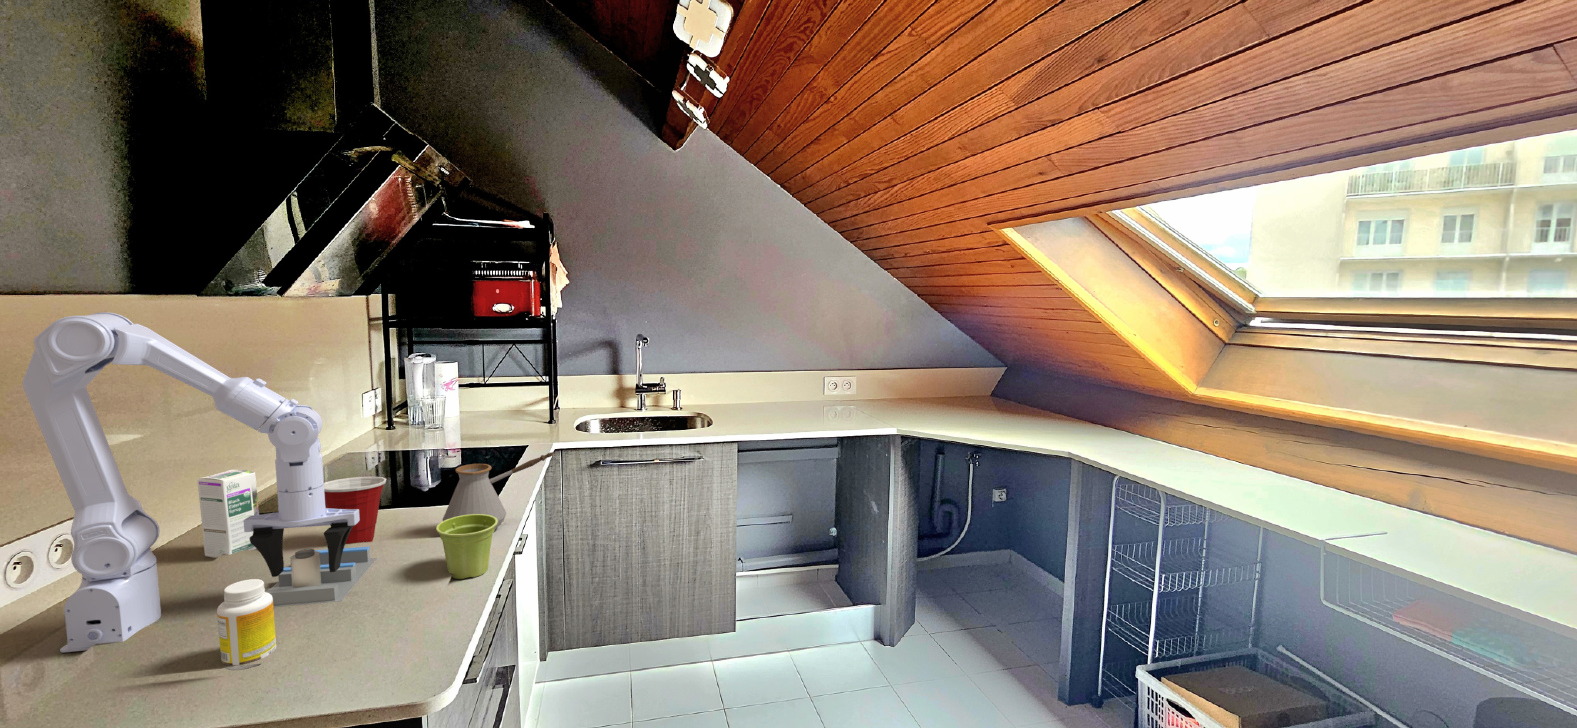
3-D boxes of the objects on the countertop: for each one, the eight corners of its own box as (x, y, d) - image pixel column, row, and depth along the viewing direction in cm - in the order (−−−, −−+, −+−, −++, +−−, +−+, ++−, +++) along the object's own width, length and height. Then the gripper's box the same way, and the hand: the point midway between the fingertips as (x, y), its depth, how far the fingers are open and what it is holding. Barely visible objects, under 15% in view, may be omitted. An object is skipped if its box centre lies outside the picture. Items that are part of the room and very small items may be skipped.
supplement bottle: (286, 647, 88) (282, 575, 86) (257, 671, 82) (252, 595, 81) (242, 648, 87) (236, 576, 86) (209, 673, 82) (203, 596, 80)
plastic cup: (396, 529, 129) (393, 470, 128) (380, 550, 119) (377, 487, 118) (332, 533, 126) (329, 474, 125) (310, 556, 116) (307, 491, 114)
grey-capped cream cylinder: (315, 596, 100) (313, 555, 99) (288, 599, 99) (285, 557, 98) (325, 586, 103) (323, 546, 102) (299, 588, 102) (296, 548, 101)
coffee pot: (440, 544, 123) (437, 467, 121) (445, 523, 133) (443, 452, 131) (559, 530, 131) (558, 458, 129) (555, 512, 142) (554, 445, 140)
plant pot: (510, 564, 115) (509, 517, 114) (471, 588, 106) (469, 537, 105) (466, 557, 118) (465, 511, 117) (424, 579, 109) (422, 529, 108)
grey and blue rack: (341, 607, 99) (340, 586, 98) (248, 615, 96) (246, 594, 95) (377, 563, 114) (376, 545, 114) (298, 568, 111) (297, 550, 110)
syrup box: (230, 560, 113) (224, 479, 112) (203, 556, 115) (196, 476, 113) (262, 547, 119) (257, 470, 117) (236, 544, 120) (230, 468, 118)
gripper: (364, 476, 105) (369, 556, 106) (258, 481, 101) (264, 564, 102) (347, 490, 98) (352, 575, 99) (233, 495, 94) (240, 584, 96)
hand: (306, 571), depth 100 cm, fingers open, 7 cm apart
